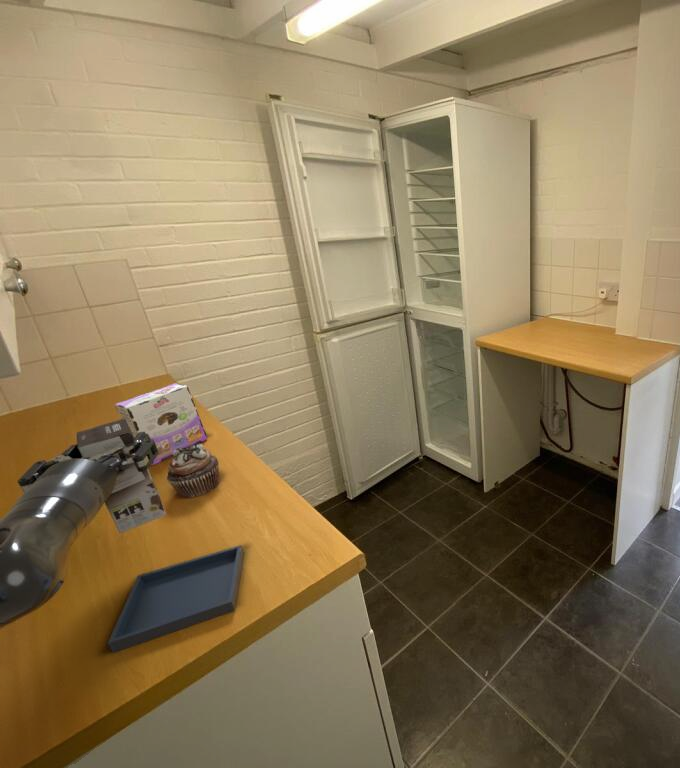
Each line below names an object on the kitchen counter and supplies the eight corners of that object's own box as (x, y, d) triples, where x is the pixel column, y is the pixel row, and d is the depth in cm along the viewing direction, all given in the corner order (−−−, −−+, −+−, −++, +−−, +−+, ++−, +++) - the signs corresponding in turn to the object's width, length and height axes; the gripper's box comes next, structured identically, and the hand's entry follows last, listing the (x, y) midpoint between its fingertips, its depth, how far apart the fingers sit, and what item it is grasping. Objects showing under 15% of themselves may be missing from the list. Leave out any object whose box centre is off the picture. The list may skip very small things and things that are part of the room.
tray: (113, 652, 60) (107, 643, 59) (142, 584, 71) (137, 575, 70) (235, 610, 66) (231, 601, 65) (244, 553, 77) (241, 544, 76)
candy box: (196, 435, 118) (175, 382, 111) (208, 439, 115) (188, 385, 109) (139, 461, 106) (113, 403, 100) (152, 466, 104) (126, 407, 97)
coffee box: (168, 515, 72) (131, 431, 66) (119, 535, 68) (75, 447, 62) (160, 494, 78) (126, 417, 72) (115, 512, 74) (74, 430, 68)
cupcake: (169, 489, 95) (152, 451, 91) (217, 469, 102) (204, 434, 98) (180, 506, 89) (163, 467, 85) (230, 484, 96) (217, 447, 92)
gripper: (122, 461, 56) (157, 412, 69) (-27, 492, 50) (43, 433, 64) (143, 506, 59) (173, 451, 72) (5, 540, 53) (65, 474, 67)
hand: (112, 442), depth 68 cm, fingers closed on coffee box, 8 cm apart
